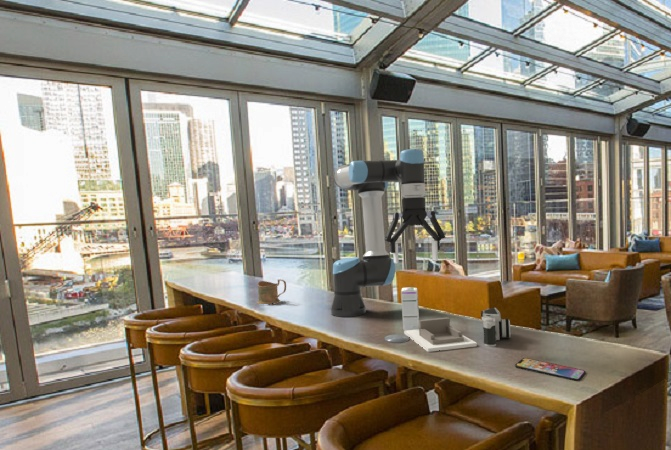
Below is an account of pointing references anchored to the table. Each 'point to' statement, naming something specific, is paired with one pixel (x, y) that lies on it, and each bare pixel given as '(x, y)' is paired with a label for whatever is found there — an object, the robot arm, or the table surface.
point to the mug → (269, 292)
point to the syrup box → (410, 308)
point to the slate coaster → (396, 338)
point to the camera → (494, 326)
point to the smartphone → (550, 369)
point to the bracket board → (439, 335)
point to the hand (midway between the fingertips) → (415, 261)
